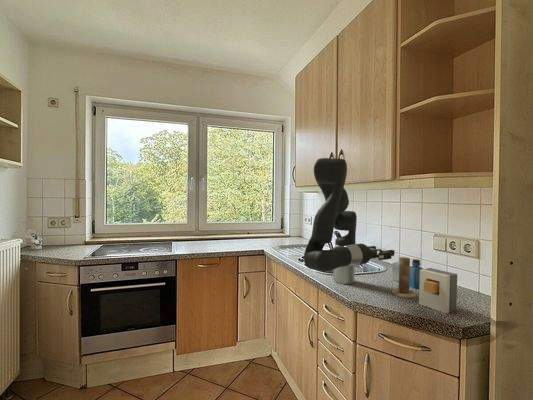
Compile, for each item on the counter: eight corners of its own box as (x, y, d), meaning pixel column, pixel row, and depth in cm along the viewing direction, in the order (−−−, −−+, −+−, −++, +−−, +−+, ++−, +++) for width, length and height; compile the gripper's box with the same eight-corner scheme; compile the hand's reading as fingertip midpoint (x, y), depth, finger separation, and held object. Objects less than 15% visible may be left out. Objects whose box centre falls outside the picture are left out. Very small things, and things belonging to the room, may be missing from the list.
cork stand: (387, 292, 126) (387, 290, 126) (401, 289, 130) (401, 287, 130) (406, 299, 118) (406, 296, 118) (420, 296, 122) (421, 293, 122)
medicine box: (400, 282, 142) (400, 264, 142) (391, 280, 145) (392, 262, 145) (409, 279, 146) (409, 262, 146) (400, 277, 150) (401, 260, 150)
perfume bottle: (417, 284, 139) (417, 258, 139) (426, 288, 133) (427, 261, 133) (405, 284, 138) (405, 258, 138) (413, 288, 132) (414, 261, 132)
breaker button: (423, 290, 109) (424, 281, 109) (430, 289, 111) (430, 280, 111) (432, 293, 106) (433, 284, 106) (439, 292, 108) (439, 282, 108)
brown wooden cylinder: (396, 291, 125) (397, 257, 124) (402, 289, 127) (403, 256, 126) (405, 294, 121) (405, 259, 121) (411, 292, 123) (412, 258, 123)
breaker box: (419, 304, 113) (419, 269, 113) (429, 301, 116) (430, 267, 116) (445, 313, 104) (446, 276, 104) (456, 310, 107) (457, 274, 107)
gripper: (369, 248, 103) (400, 244, 111) (340, 241, 115) (370, 238, 123) (369, 269, 103) (400, 264, 111) (339, 260, 115) (369, 256, 123)
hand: (384, 250), depth 117 cm, fingers open, 8 cm apart
